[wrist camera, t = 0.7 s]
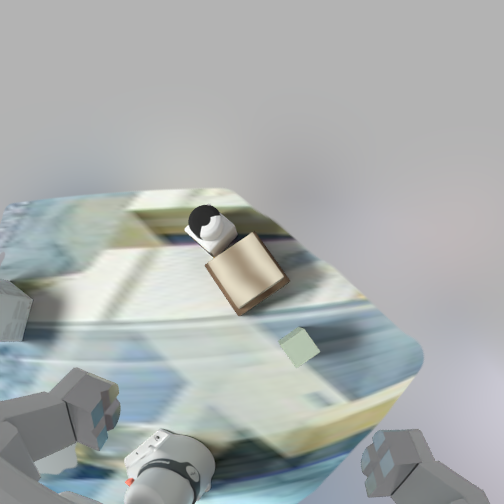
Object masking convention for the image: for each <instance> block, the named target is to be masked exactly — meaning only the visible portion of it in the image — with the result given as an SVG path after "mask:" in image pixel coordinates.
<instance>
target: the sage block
mask: <svg viewBox="0 0 504 504" xmlns="http://www.w3.org/2000/svg"><path fill="white" fill-rule="evenodd" d="M278 342H279V344H280V346H281V347H282V349H283V350H284V352H285V353H286V354H287V356H288V357H289V359H290V360H291V361H292V363H293V364H294V366H295V367H296V368H298V367H299V366H301V365H302V364H304V363H305V362H307V361H308V360H309V359H311V358H312V357H314V356H315V355H316V354H318V353H319V352H320V350H319V349H318V348H317V346H316V345H315V343H314V342H313V341H312V339H311V338H310V336H309V335H308V333H307V332H306V331H305V329H303V328H300V327H297V328H296V329H295V330H293V331H292V332H290V333H289V334H287V335H286V336H285V337H283V338H282V339H280V340H279V341H278Z"/></svg>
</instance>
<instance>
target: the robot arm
mask: <svg viewBox="0 0 504 504" xmlns="http://www.w3.org/2000/svg"><path fill="white" fill-rule="evenodd" d="M118 394H119V388H118V385H117V384H116V383H114V382H111V381H109V380H106V379H104V378H101V377H99V376H96V375H94V374H92V373H88V372H86V371H84V370H82V369H80V368H73V369H72V370H71V371H70V372H69V373H68V374H67V375H66V376H65V377H64V378H63V379H62V380H61V381H60V382H59V383H58V384H57V385H56V386H55V387H54V388H53V389H52V390H51V391H50V392H49V393H47V392H41V393H36V394H32V395H28V396H23V397H19V398H14V399H10V400H5V401H0V504H102V503H100V502H98V501H96V500H93V499H90V498H87V497H85V496H82V495H79V494H76V493H73V492H70V491H66V492H62V493H59V494H58V493H56V492H54V491H52V490H50V489H49V488H47V487H45V486H44V485H42V484H40V483H39V482H38V481H39V479H40V478H41V476H40V473H39V471H38V470H37V468H36V466H35V464H34V462H35V461H37V460H39V459H42V458H44V457H46V456H48V455H51V454H53V453H55V452H57V451H60V450H62V449H64V448H66V447H68V446H70V445H72V444H75V443H76V441H77V442H79V443H81V444H84V445H86V446H88V447H91V448H93V449H95V450H98V451H100V450H101V448H102V447H103V445H104V444H105V442H106V440H107V439H108V434H107V431H109V430H112V429H114V428H115V426H116V424H117V422H118V419H119V416H120V402H119V401H118V400H117V398H116V397H117V395H118ZM157 436H159V437H160V438H158V437H157ZM372 439H373V443H372V444H371V445H370V446H368V447H367V448H366V449H365V451H364V453H363V455H362V459H361V468H362V472H363V474H365V475H366V476H367V477H368V478H367V480H366V481H365V486H366V491H367V495H368V497H383V496H391V498H392V499H393V500H394V501H395V503H396V504H490V503H489V501H488V498H487V497H486V495H485V493H484V491H483V490H481V489H480V488H478V487H477V486H475V485H474V484H472V483H471V482H469V481H468V480H466V479H465V478H463V477H462V476H460V475H459V474H457V473H456V472H454V471H453V470H451V469H450V468H448V467H447V466H446V465H444V464H442V463H441V462H440V461H435V459H434V457H433V455H432V453H431V451H430V449H429V447H428V444H427V443H426V440H425V438H424V436H423V434H422V432H421V431H420V430H419V429H410V430H409V429H408V430H379V431H377V432H376V433H375V435H374V436H373V438H372ZM124 462H125V466H126V468H127V475H128V477H129V479H128V480H127V481H126V482H125V483H126V484H127V485H128V486H129V488H128V489H127V490H126V492H125V495H124V504H194V503H195V502H196V501H198V500H199V499H200V498H201V497H202V495H203V493H204V492H208V491H209V490H210V489H211V478H212V476H213V474H214V471H215V461H214V458H213V456H212V454H211V452H210V451H209V449H208V448H207V447H206V446H205V445H203V444H202V443H201V442H199V441H198V440H196V439H194V438H191V437H188V436H184V435H177V434H172V433H170V432H168V431H166V430H164V429H159V430H157V431H156V432H155V433H154V434H153V435H152V436H150V437H149V438H148V439H147V440H146V441H144V442H143V443H142V444H141V445H140V446H138V447H137V448H136V449H135V450H134V451H132V452H131V453H130V454H129V455H128V456H126V457H125V459H124Z"/></svg>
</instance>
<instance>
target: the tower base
mask: <svg viewBox="0 0 504 504" xmlns="http://www.w3.org/2000/svg"><path fill="white" fill-rule="evenodd" d="M253 234H254V235H255V237H256V238H257V239H258V241H259V242H260V244H261V245H262V246H263V248H264V249H265V251H266V252H267V253H268V255H269V256H270V258H271V259H272V260H273V262H274V263H275V265H276V266H277V267H278V269H279V270H280V272H281V273H282V274H283V276H284V278H283V279H282V280H281V281H279V282H278V283H277V284H275V285H274V286H272V287H271V288H269V289H268V290H266V291H265V292H264V293H262V294H261V295H259V296H258V297H256V298H255V299H253V300H252V301H250V302H249V303H248V304H246V305H245V306H243V307H242V308H240V309H239V308H237V306H236V305H235V303H234V302H233V300H232V299H231V297H230V296H229V294H228V293H227V291H226V290H225V288H224V287H223V286H222V284H221V283H220V281H219V280H218V278H217V277H216V275H215V274H214V272H213V270H212V269H211V267H210V266H209V264H208V263H207V264H206V265H205V267H206V268H207V270H208V272H209V273H210V275H211V276H212V278H213V279H214V281H215V282H216V284H217V285H218V287H219V288H220V290H221V291H222V293H223V294H224V296H225V297H226V299H227V300H228V302H229V303H230V305H231V306H232V307H233V309H234V310H235V312H236V313H237V315H238V316H241V315H243V314H244V313H246V312H247V311H249V310H250V309H252V308H253V307H255V306H256V305H257V304H259V303H260V302H262V301H263V300H265V299H266V298H268V297H269V296H271V295H272V294H273V293H275V292H276V291H278V290H279V289H281V288H282V287H283V286H285V285H286V284H288V283H289V281H290V280H289V278H288V277H287V276H286V274H285V273H284V271H283V270H282V269H281V267H280V266H279V264H278V263H277V262H276V260H275V259H274V257H273V256H272V255H271V253H270V252H269V250H268V249H267V248H266V246H265V245H264V243H263V242H262V241H261V239H260V238H259V236H258V235H257V234H256V232H255V231H254V232H253Z"/></svg>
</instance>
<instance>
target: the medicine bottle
mask: <svg viewBox="0 0 504 504" xmlns="http://www.w3.org/2000/svg"><path fill="white" fill-rule="evenodd" d="M188 223H189V225H188V226H187V227H186V228H185V231H186V232H187V233H188V234H189V235H190V237H191V238H192V239H193V240H194V241H196V242H197V243H198V244H199V245H200V246H201V247H202V248H203V249H204V250H206V251H207V252H208V253H209V254H210V255H211V256H212V257H213V258H215V257H217V256H218V255H220V254H221V253H222V252H223V251H224V250H225V248H226V247H227V246H228V245H229V244H230V243H231V242H232V241H233V240H234V239H235V237H236V236H237V235H238V234H237V231H236V228H235V225H234V224H233V223H232V222H230V221H229V220H228V219H227V218H226V217H225V216H223V215H222V214H221V213H220V212H219V211H218V210H217V209H216V208H215V207H213V206H211V205H210V204H207V205H201V206H199V207H197V208H195V209H194V210H193V211H192V213H191V214H190V216H189V221H188Z"/></svg>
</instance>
